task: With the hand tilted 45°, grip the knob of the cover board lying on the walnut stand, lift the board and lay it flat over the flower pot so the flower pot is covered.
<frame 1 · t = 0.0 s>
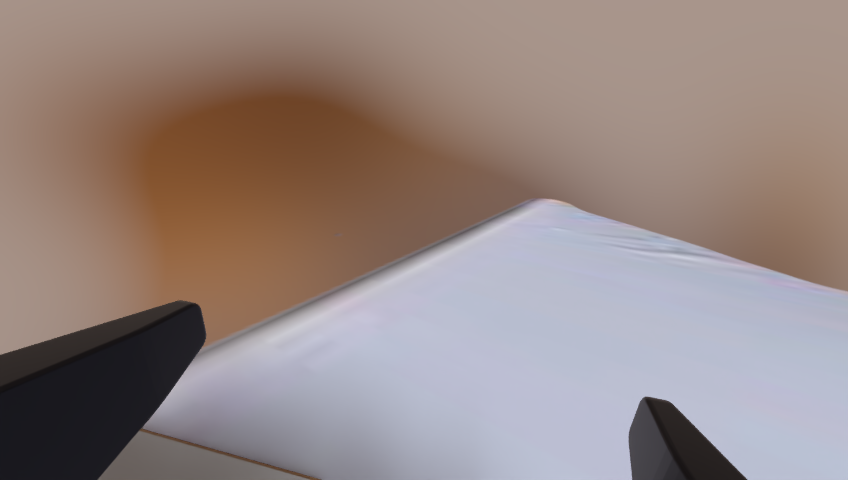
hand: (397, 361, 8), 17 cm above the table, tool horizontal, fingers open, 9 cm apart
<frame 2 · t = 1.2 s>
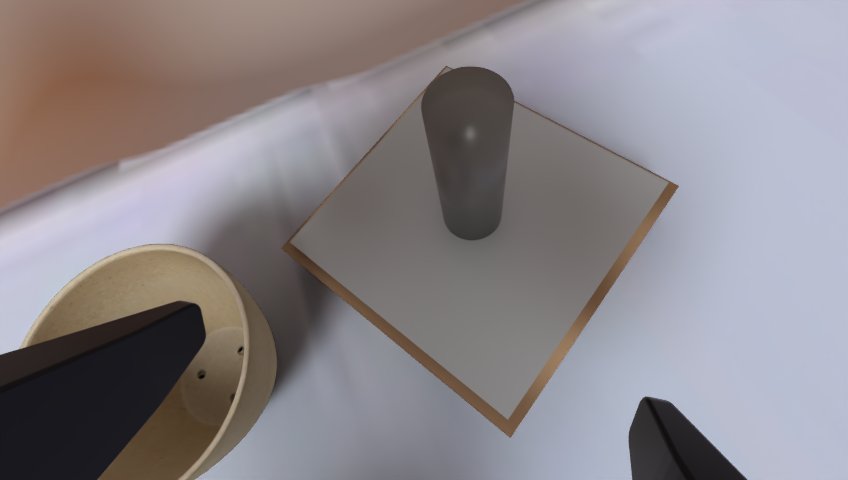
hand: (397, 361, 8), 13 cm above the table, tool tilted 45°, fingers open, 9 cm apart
cover: (472, 218, 20), point 3 cm above the table, touching stand
stand: (473, 239, 23), on the table
flower pot: (231, 376, 22), on the table
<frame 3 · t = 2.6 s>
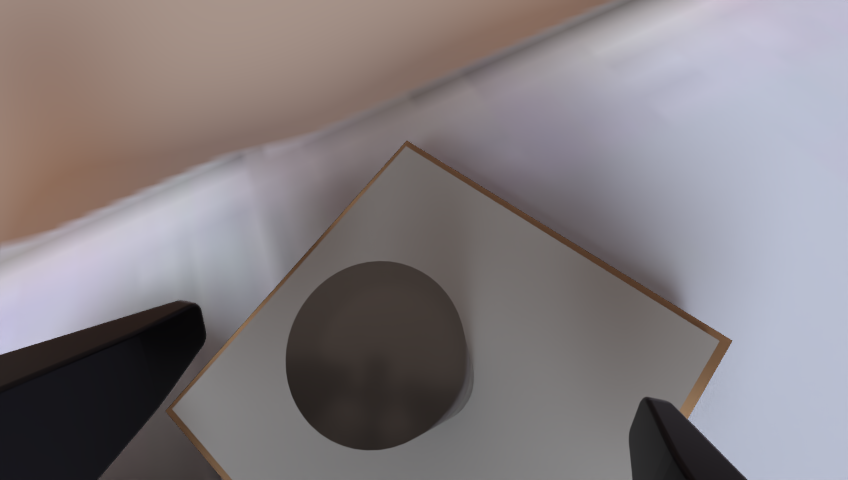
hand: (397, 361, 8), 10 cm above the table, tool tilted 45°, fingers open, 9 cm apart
cover: (433, 377, 14), point 3 cm above the table, touching stand
stand: (441, 381, 17), on the table
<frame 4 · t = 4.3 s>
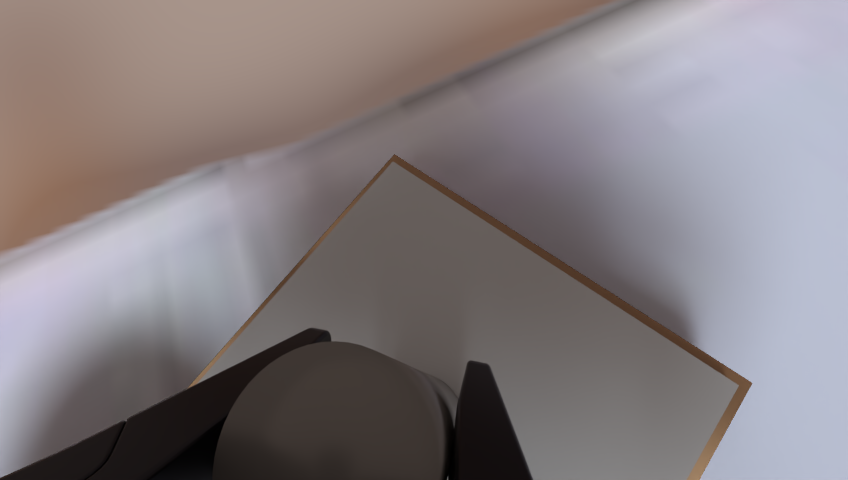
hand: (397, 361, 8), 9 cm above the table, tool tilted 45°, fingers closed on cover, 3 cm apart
cover: (420, 421, 13), point 3 cm above the table, touching gripper, stand
stand: (431, 417, 16), on the table
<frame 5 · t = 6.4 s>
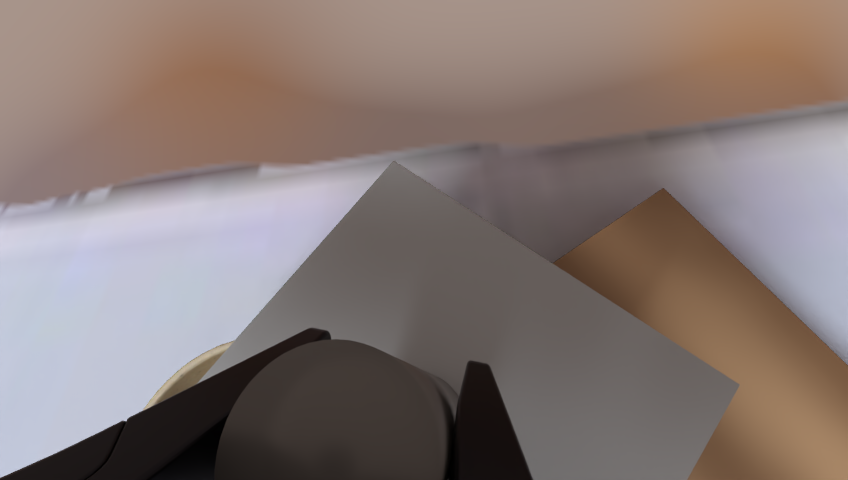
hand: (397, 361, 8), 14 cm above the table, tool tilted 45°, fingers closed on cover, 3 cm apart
cover: (421, 420, 13), point 8 cm above the table, touching gripper
stand: (631, 403, 19), on the table
flower pot: (322, 456, 21), on the table
when the fingers open (14 cm above the table, at t = 8.6 s): cover stays where it is, resting on flower pot.
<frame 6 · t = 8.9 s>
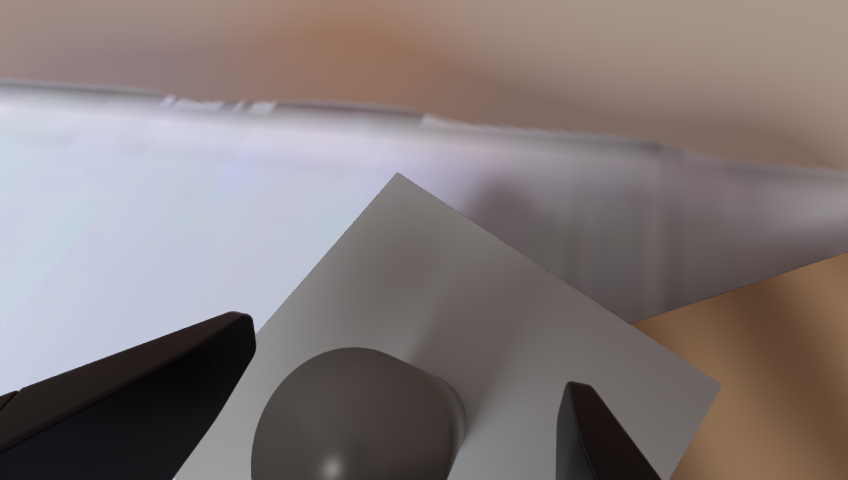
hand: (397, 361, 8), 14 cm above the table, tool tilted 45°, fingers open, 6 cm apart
cover: (424, 419, 14), point 7 cm above the table, touching flower pot
stand: (790, 454, 18), on the table
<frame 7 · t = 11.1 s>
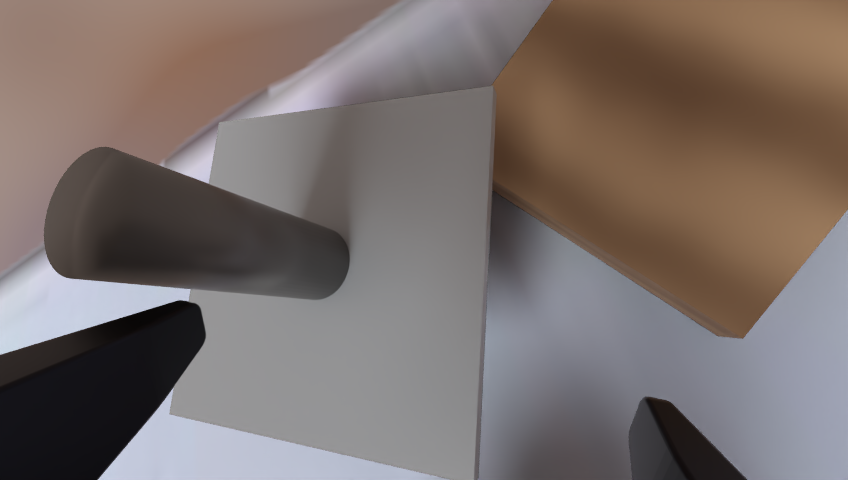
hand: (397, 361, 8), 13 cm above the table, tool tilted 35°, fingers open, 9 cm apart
cover: (327, 265, 16), point 7 cm above the table, touching flower pot
stand: (662, 122, 19), on the table
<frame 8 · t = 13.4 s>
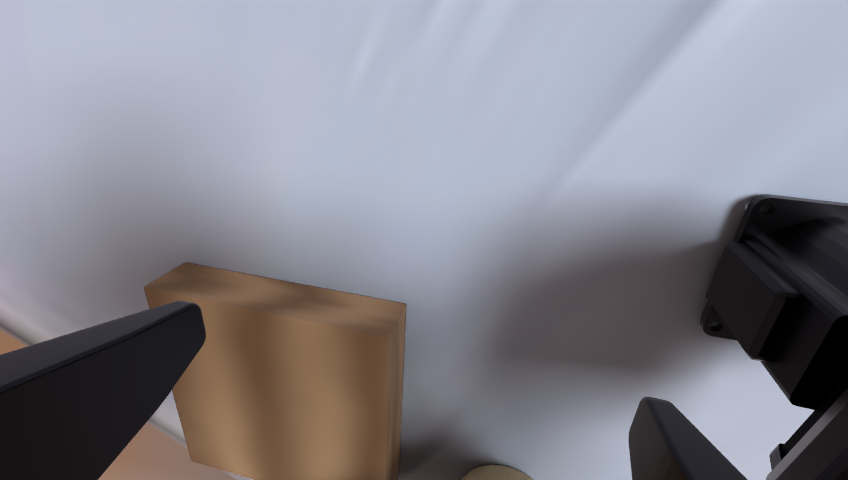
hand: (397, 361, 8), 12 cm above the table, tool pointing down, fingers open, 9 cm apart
stand: (298, 374, 27), on the table
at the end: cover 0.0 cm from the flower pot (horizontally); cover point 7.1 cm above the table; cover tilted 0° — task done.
